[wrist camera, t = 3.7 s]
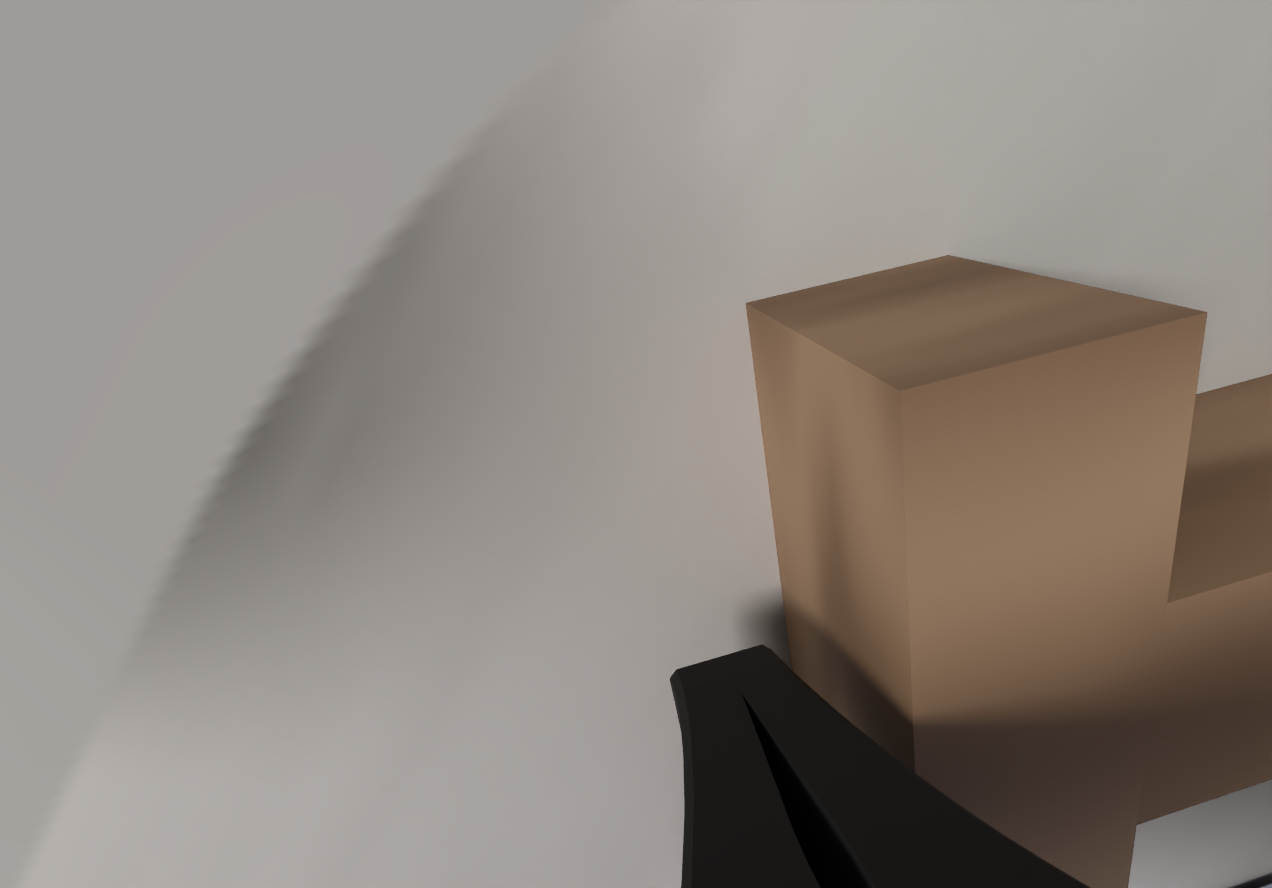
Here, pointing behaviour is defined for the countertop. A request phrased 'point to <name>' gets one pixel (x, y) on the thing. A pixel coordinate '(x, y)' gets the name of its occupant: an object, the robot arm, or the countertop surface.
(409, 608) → the countertop surface
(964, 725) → the t block
